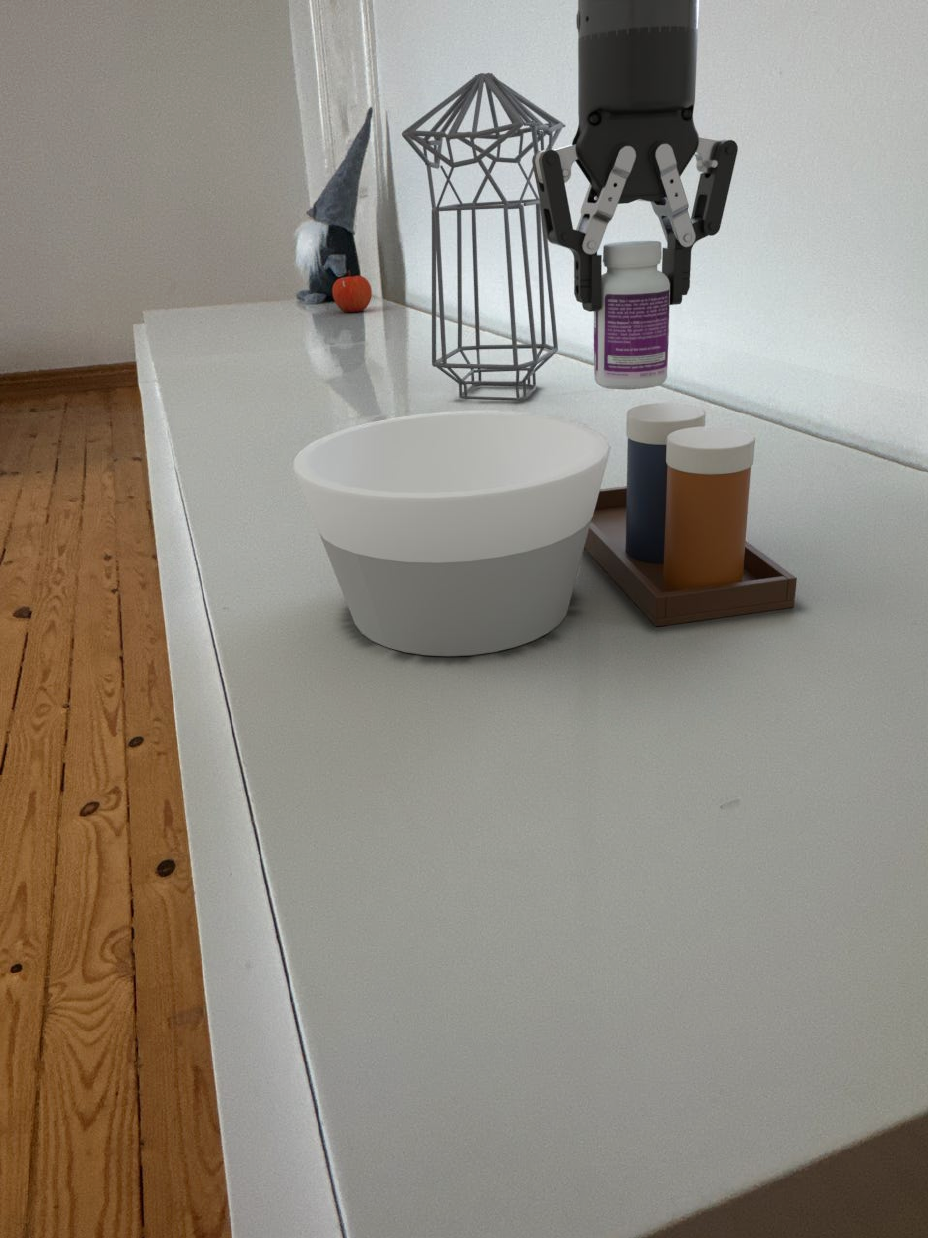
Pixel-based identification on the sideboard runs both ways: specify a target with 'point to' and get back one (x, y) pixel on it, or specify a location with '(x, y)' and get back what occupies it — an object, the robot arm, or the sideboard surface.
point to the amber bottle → (706, 506)
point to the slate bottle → (651, 473)
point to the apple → (352, 293)
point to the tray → (644, 586)
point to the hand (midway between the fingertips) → (632, 305)
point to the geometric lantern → (514, 111)
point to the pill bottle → (632, 318)
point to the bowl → (455, 524)
